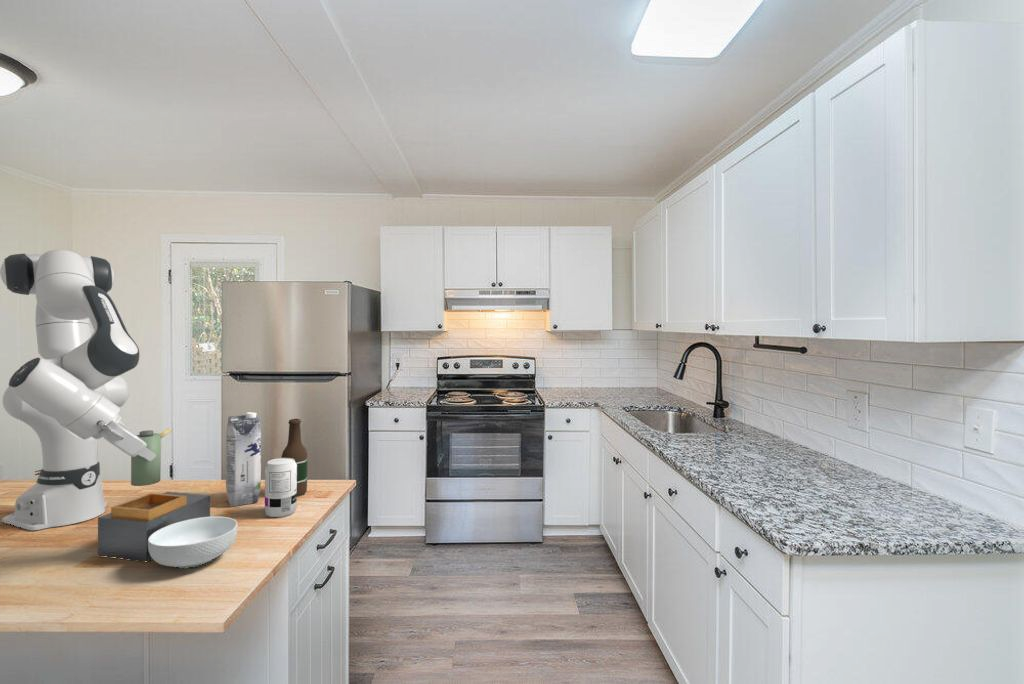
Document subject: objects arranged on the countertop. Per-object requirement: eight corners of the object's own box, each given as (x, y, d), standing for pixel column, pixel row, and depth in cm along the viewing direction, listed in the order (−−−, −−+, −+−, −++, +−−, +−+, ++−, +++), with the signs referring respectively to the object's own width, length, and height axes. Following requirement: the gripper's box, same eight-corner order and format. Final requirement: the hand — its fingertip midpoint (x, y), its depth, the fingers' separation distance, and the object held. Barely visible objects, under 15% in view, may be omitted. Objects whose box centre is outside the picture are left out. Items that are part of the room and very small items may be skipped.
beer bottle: (297, 499, 148) (297, 422, 147) (275, 496, 149) (275, 420, 149) (312, 490, 155) (313, 417, 155) (291, 488, 157) (292, 416, 156)
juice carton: (227, 509, 138) (227, 417, 138) (225, 498, 147) (226, 411, 146) (261, 503, 143) (262, 414, 143) (257, 493, 152) (258, 409, 151)
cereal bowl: (243, 539, 119) (243, 511, 119) (229, 572, 103) (229, 539, 103) (162, 549, 113) (162, 519, 113) (134, 584, 97) (134, 550, 97)
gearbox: (86, 555, 109) (86, 507, 109) (157, 524, 127) (157, 482, 127) (146, 562, 107) (146, 512, 106) (210, 529, 124) (210, 487, 124)
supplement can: (258, 515, 134) (258, 462, 134) (282, 505, 142) (282, 456, 141) (279, 520, 131) (279, 466, 131) (302, 510, 139) (303, 459, 138)
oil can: (133, 487, 108) (134, 435, 107) (128, 481, 111) (129, 430, 111) (173, 480, 113) (174, 430, 113) (167, 475, 117) (168, 426, 117)
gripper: (117, 414, 99) (172, 452, 107) (100, 401, 113) (150, 436, 120) (88, 439, 96) (148, 476, 103) (75, 422, 109) (128, 456, 117)
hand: (149, 454), depth 112 cm, fingers closed on oil can, 5 cm apart
